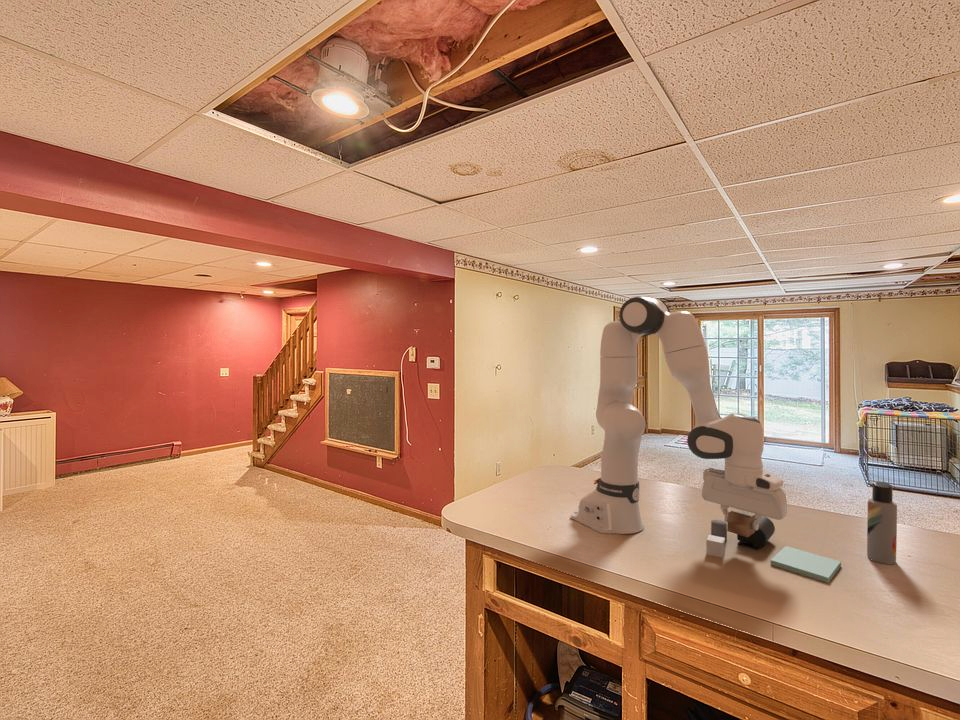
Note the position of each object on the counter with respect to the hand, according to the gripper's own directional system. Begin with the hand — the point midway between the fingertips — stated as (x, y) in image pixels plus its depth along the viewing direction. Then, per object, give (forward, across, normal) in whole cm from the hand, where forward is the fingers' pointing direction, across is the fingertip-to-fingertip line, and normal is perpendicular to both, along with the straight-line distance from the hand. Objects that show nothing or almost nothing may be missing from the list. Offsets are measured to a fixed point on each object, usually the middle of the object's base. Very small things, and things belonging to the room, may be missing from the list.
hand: (741, 525), depth 123 cm
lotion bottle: (+7, +25, +23) cm, 35 cm away
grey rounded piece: (+8, -7, +4) cm, 12 cm away
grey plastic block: (+8, -4, -5) cm, 10 cm away
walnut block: (+2, 0, 0) cm, 2 cm away
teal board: (+7, +14, +5) cm, 16 cm away
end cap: (+8, 0, +10) cm, 12 cm away
